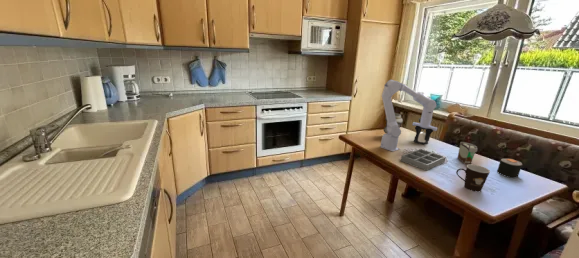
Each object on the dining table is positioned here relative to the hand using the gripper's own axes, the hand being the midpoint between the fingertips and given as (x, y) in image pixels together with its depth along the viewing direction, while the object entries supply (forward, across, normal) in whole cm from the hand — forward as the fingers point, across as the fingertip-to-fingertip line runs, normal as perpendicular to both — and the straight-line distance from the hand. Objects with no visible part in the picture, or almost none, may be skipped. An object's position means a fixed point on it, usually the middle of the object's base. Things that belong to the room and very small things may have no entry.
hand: (422, 138), depth 157 cm
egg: (+2, 0, 0) cm, 2 cm away
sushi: (+8, -43, -8) cm, 44 cm away
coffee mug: (+8, -37, +27) cm, 47 cm away
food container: (+8, -24, -8) cm, 27 cm away
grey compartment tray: (+8, -10, +16) cm, 21 cm away
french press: (+8, +8, -18) cm, 21 cm away
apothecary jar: (+8, +25, -7) cm, 27 cm away
